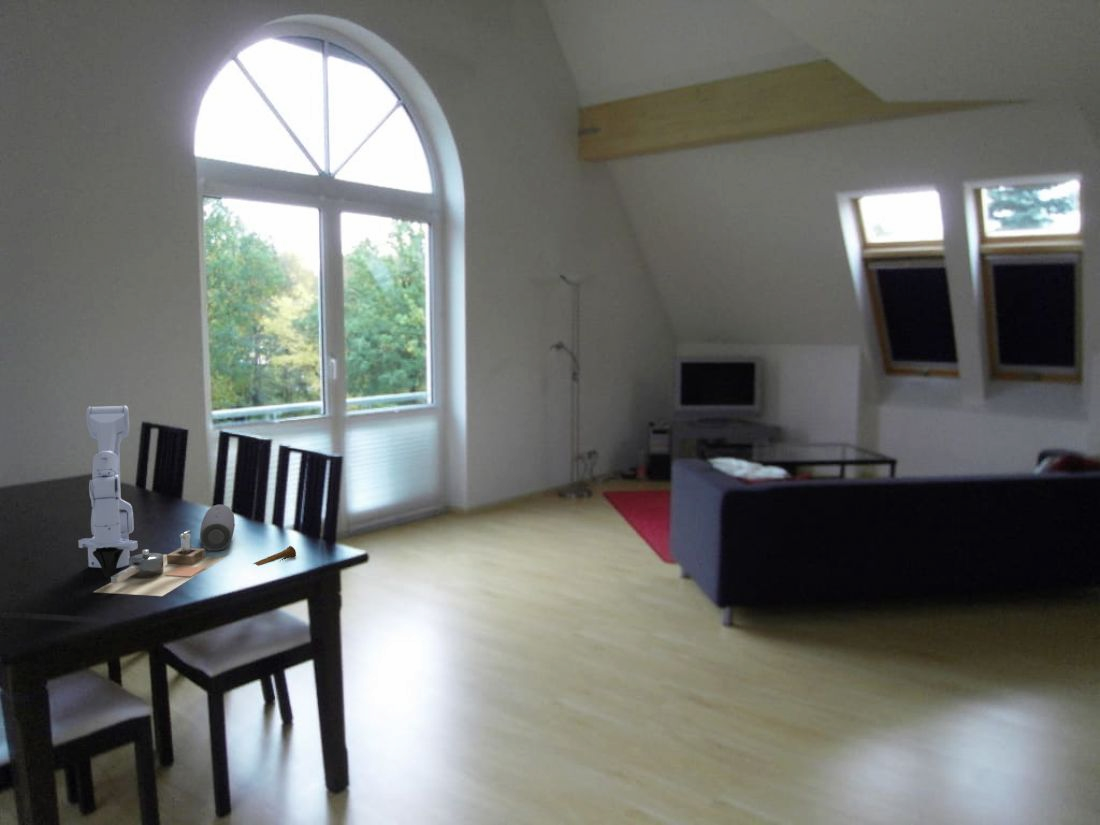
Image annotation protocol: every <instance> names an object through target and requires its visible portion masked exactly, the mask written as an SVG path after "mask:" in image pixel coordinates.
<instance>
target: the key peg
mask: <svg viewBox="0 0 1100 825" xmlns="http://www.w3.org/2000/svg"><path fill="white" fill-rule="evenodd" d="M191 534H192V532H191V530H186V531H185V532H182V533H181V534H179V538H180V545H181V546H180V548H181V553H182V554H190V553H191V548H192V545H191V544H192V542H191V540H192V539H191Z"/></svg>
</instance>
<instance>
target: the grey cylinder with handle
mask: <svg viewBox="0 0 1100 825" xmlns="http://www.w3.org/2000/svg"><path fill="white" fill-rule="evenodd" d="M163 555H164V554H162V553H159V552H158V553H157V552H150V549H147V548H146V549H141V553H139V554H135V555H133V556H130V558H129V565H128V567H127V568H126V569H123V570H121V571H119V572H117V573H115V575H113V576H111V577H110V583H119V582H121V581H123V580H124V579H126V578H128V577H130V576H132V577H138V578H141V577H151V576H155V575H158V574H160V573H162V572H163V571H164V568H163Z"/></svg>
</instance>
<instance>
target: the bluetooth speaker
mask: <svg viewBox="0 0 1100 825" xmlns="http://www.w3.org/2000/svg"><path fill="white" fill-rule="evenodd" d="M235 521H236V520H235V515H234V512H233V511H232V509H231V508H230V507H229V506H227V505H225V504H216V505H213V506H211V507H210V508H208V509H207V511H206V512H205V514H204V516H203V518H202V521H201V525H200V530H199V538H200V542H201V545H202V546H203V547H204V549H205V550H208V551H212V552H217V551H222V550H224V549H226V548H227V547H228V546H229V545H230V543H231V542H232V539H233V535H234V532H235V525H236V523H235Z"/></svg>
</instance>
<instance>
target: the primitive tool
mask: <svg viewBox="0 0 1100 825" xmlns="http://www.w3.org/2000/svg"><path fill="white" fill-rule="evenodd" d="M295 556H296V557H297V551H296V549H295V548H294V546H291V545H289V546H287V547H286V549H283V550H282V551H279V552H277V553H276V554H273V555H270V556H267V557H266V558H262V559H260V560H258V561H256V562H254V563H253V565H256V566H257V567H260V566H263V565H267V564H269V563H272V562H275V561H277V560H279V562H282V561H284V560H286V558H287V559H289V558H290V557H291V558H296V557H295ZM283 559H284V560H283ZM281 560H282V561H281Z"/></svg>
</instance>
